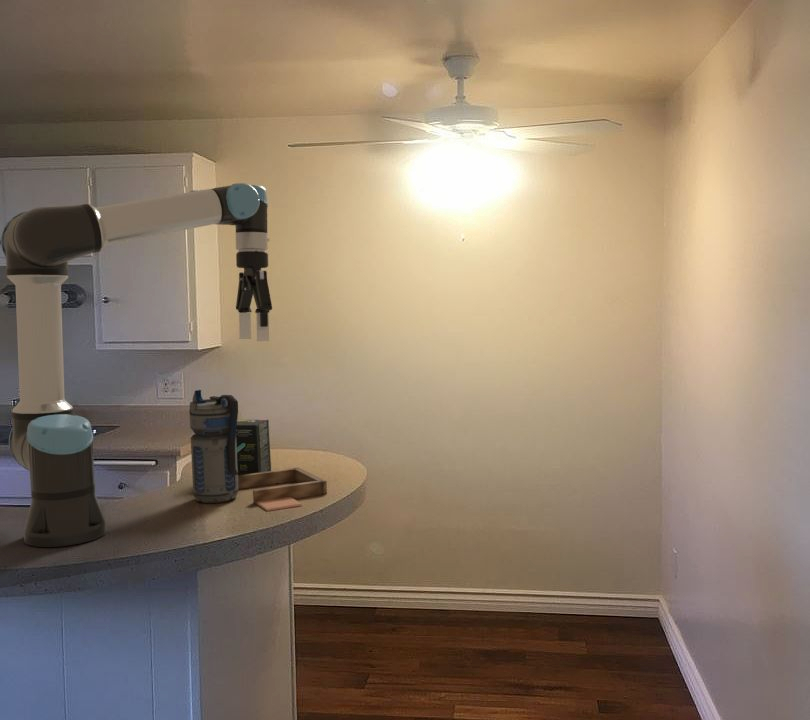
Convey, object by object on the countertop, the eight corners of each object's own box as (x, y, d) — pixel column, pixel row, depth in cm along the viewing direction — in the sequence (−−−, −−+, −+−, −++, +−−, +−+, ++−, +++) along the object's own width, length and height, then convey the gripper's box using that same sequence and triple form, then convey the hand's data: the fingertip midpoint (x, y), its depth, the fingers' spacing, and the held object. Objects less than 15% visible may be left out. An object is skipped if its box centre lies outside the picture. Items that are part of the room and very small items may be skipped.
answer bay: (255, 504, 185) (255, 491, 185) (231, 488, 201) (231, 476, 200) (326, 493, 193) (326, 480, 193) (298, 479, 209) (298, 467, 209)
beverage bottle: (223, 508, 182) (218, 395, 180) (182, 500, 189) (176, 392, 187) (255, 498, 191) (251, 390, 188) (215, 491, 198) (210, 387, 196)
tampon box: (271, 474, 215) (269, 418, 214) (259, 482, 206) (257, 424, 205) (231, 474, 217) (229, 418, 216) (217, 482, 208) (215, 424, 207)
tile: (267, 511, 179) (266, 508, 179) (255, 503, 186) (255, 500, 186) (301, 505, 183) (301, 503, 183) (288, 498, 190) (288, 496, 190)
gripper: (285, 248, 189) (286, 341, 191) (251, 254, 211) (252, 337, 213) (253, 247, 186) (255, 342, 187) (222, 253, 208) (224, 338, 209)
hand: (253, 340), depth 200 cm, fingers open, 13 cm apart
